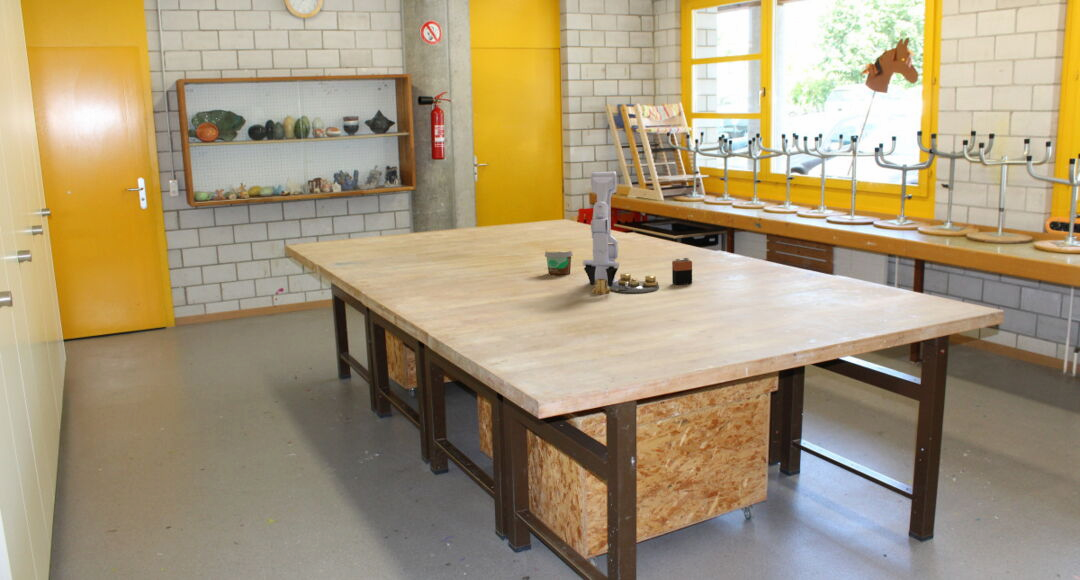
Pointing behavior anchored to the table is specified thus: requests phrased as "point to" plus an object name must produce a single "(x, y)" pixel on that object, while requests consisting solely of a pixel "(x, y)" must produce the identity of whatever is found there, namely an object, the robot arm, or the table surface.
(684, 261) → the battery
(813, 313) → the table surface
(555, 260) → the food container
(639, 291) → the carrier
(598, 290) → the planet gear
